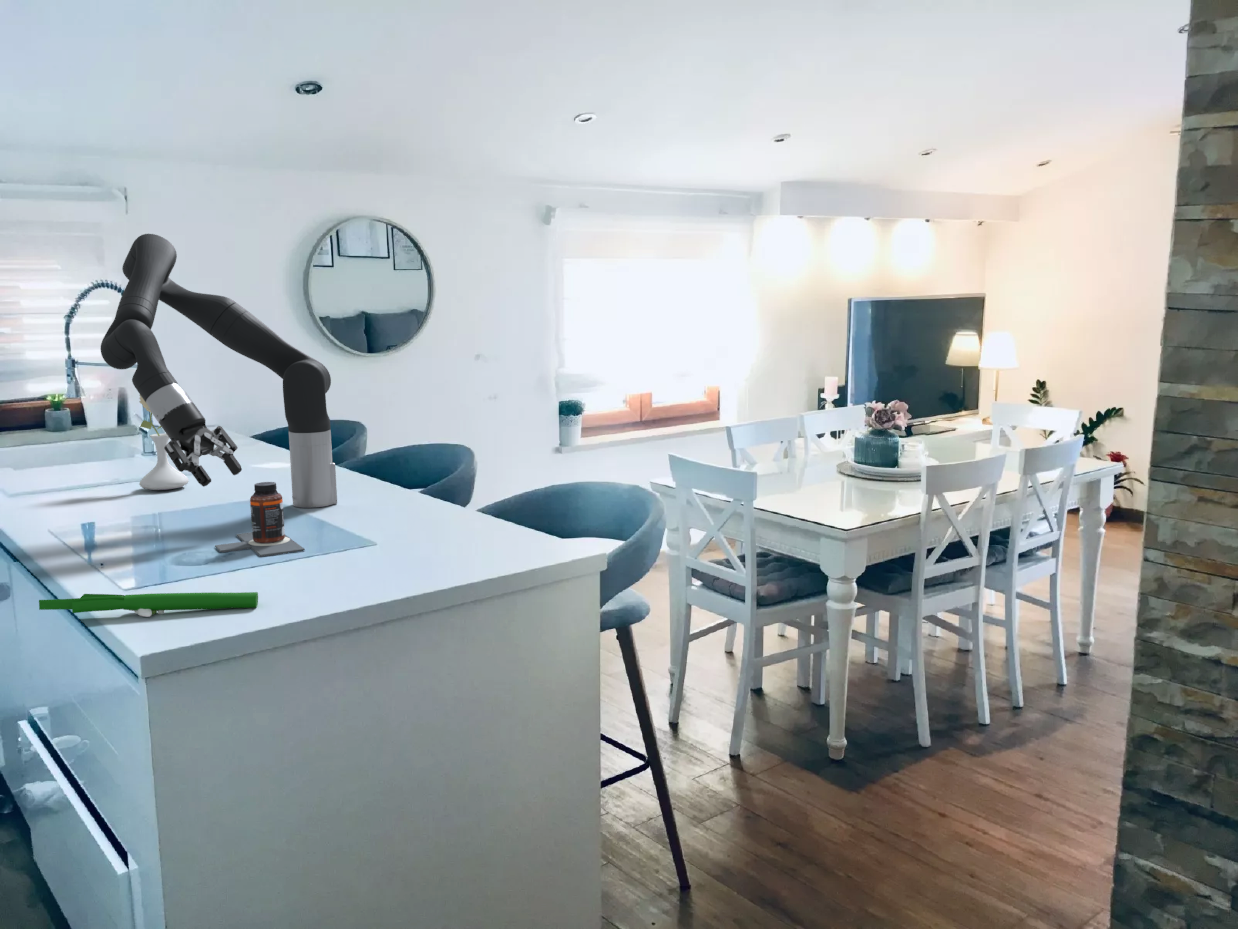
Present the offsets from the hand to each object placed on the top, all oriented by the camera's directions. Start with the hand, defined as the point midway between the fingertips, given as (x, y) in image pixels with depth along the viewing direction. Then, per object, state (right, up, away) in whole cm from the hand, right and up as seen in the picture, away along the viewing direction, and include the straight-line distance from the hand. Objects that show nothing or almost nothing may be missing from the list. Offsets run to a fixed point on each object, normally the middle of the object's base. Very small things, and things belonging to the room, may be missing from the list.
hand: (223, 478), depth 195 cm
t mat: (+8, -13, -5) cm, 16 cm away
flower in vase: (-37, -4, +54) cm, 66 cm away
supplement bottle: (+10, -12, -4) cm, 16 cm away
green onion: (+8, -20, -48) cm, 52 cm away
